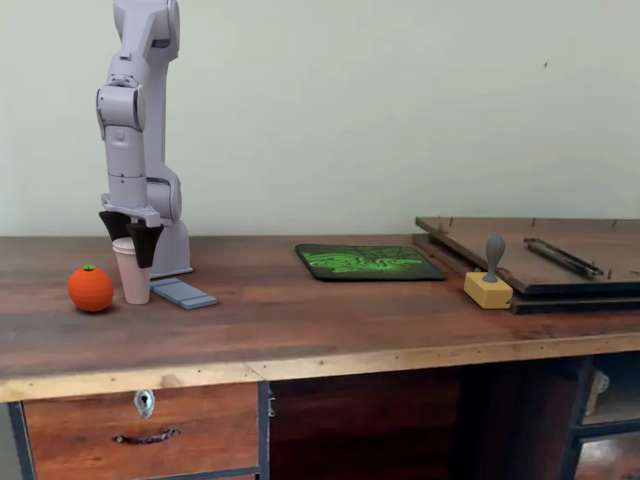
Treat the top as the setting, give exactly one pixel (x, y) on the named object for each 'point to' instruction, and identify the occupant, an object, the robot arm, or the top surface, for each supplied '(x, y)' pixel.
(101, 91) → the robot arm
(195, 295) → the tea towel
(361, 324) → the top surface
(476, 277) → the rubber stamp
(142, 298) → the smoothie
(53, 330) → the top surface
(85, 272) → the clementine
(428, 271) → the mouse mat
